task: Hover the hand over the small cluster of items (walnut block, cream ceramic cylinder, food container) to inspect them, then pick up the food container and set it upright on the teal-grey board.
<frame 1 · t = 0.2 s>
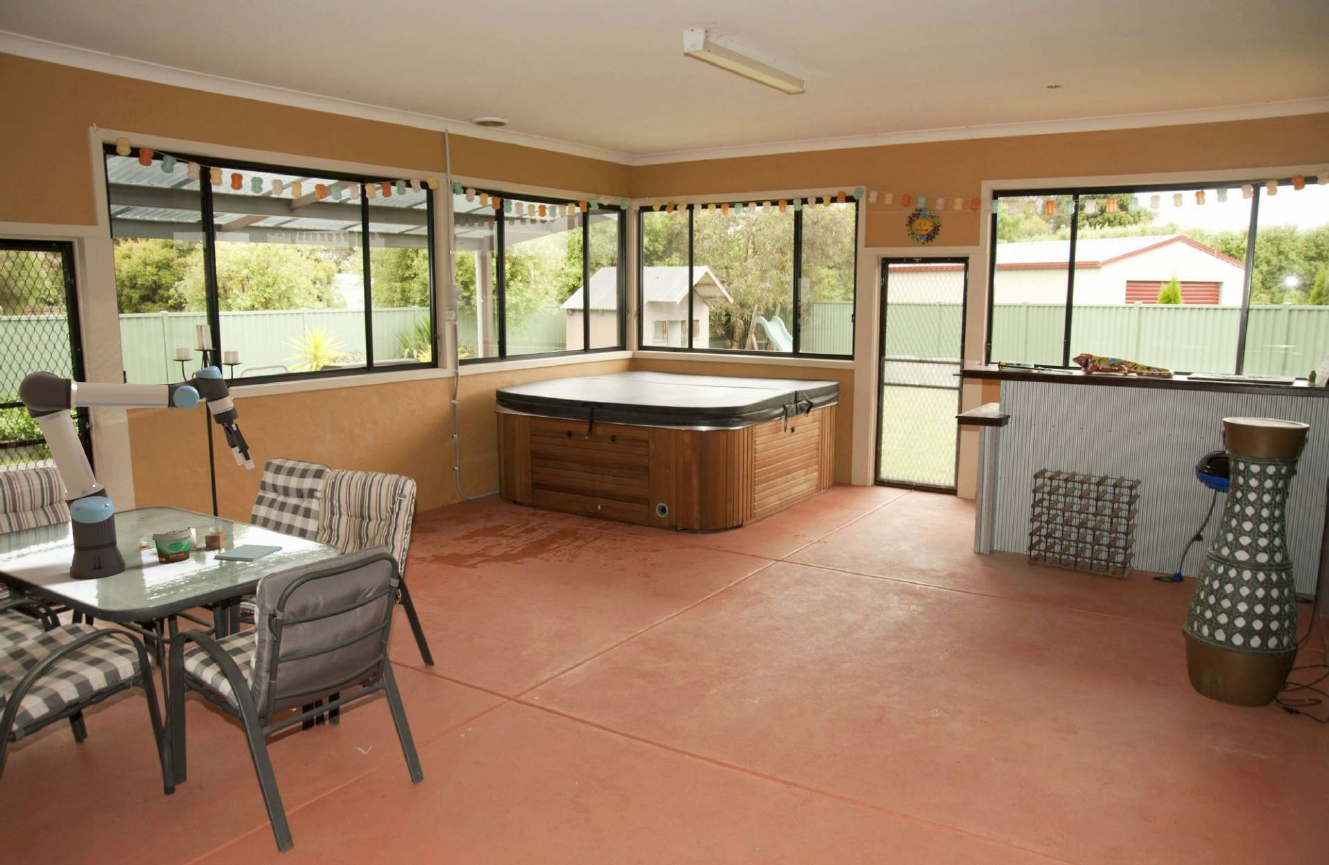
hand: (246, 466, 327), 27 cm above the table, tool tilted 15°, fingers open, 13 cm apart
cream cylinder: (188, 549, 322), on the table
teal board: (249, 553, 315), on the table
walnut block: (216, 547, 324), on the table
food container: (178, 561, 308), on the table
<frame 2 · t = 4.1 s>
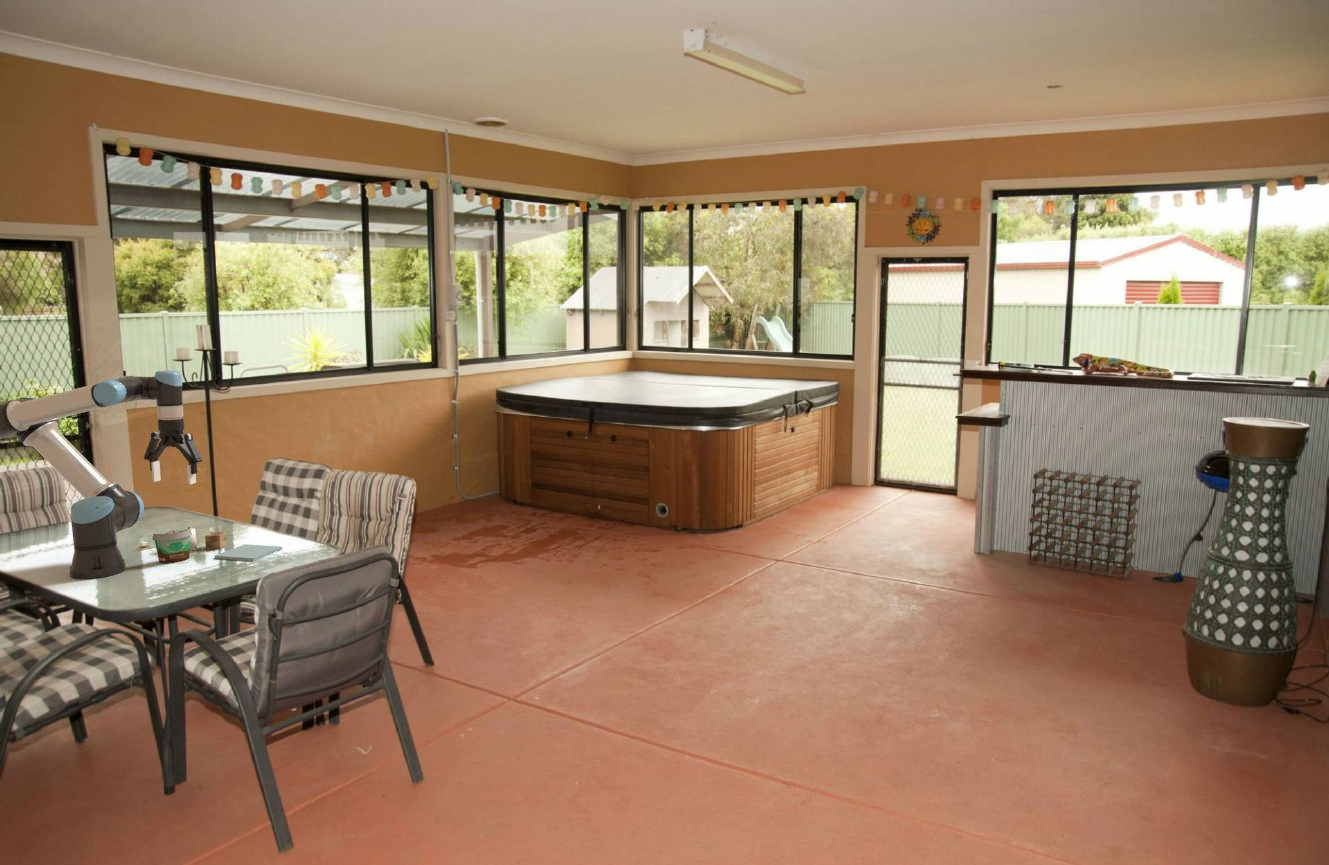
hand: (174, 482, 305), 26 cm above the table, tool pointing down, fingers open, 13 cm apart
nothing on the table moved.
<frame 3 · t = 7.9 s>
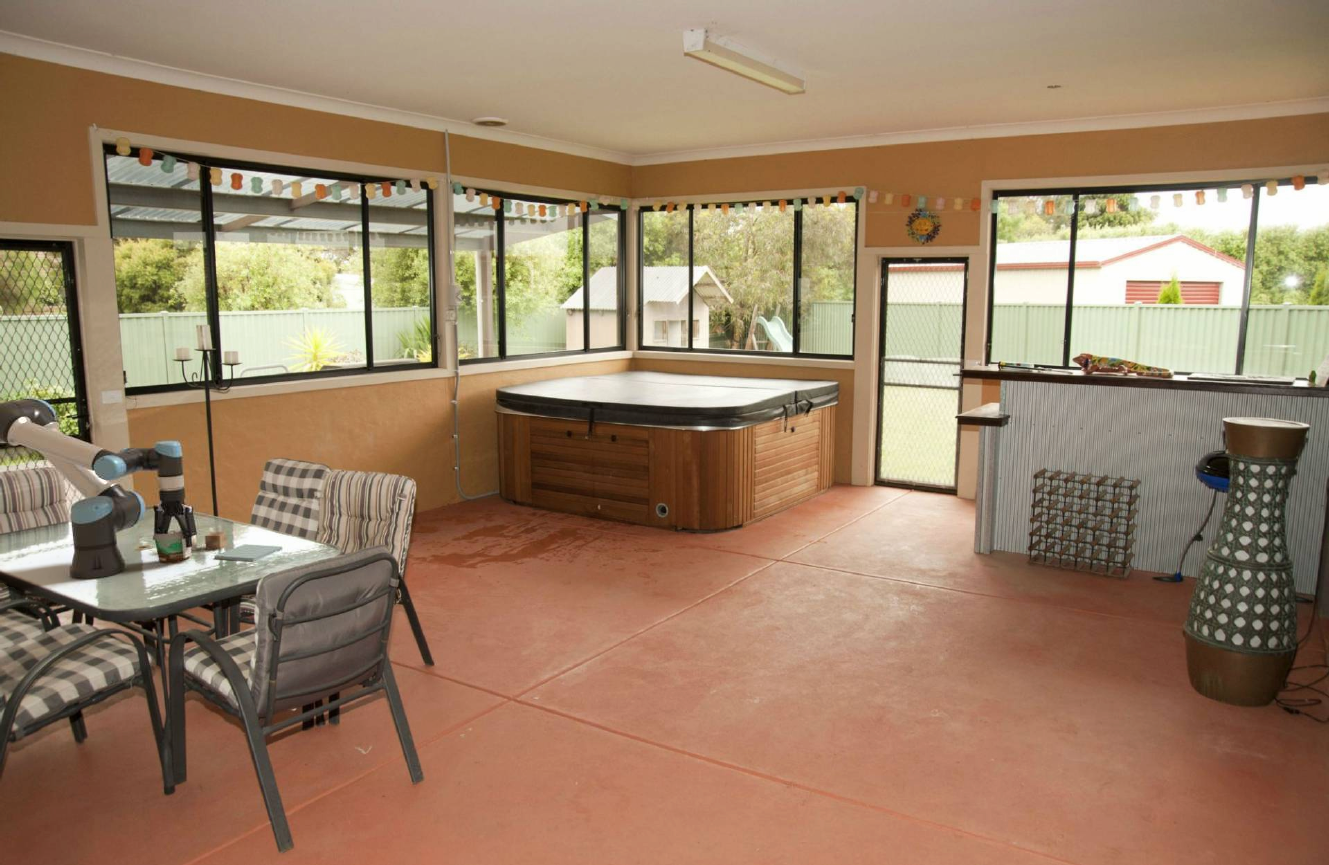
hand: (177, 555, 308), 2 cm above the table, tool pointing down, fingers closed on food container, 7 cm apart
food container: (178, 561, 308), on the table, touching gripper
everything else where it was.
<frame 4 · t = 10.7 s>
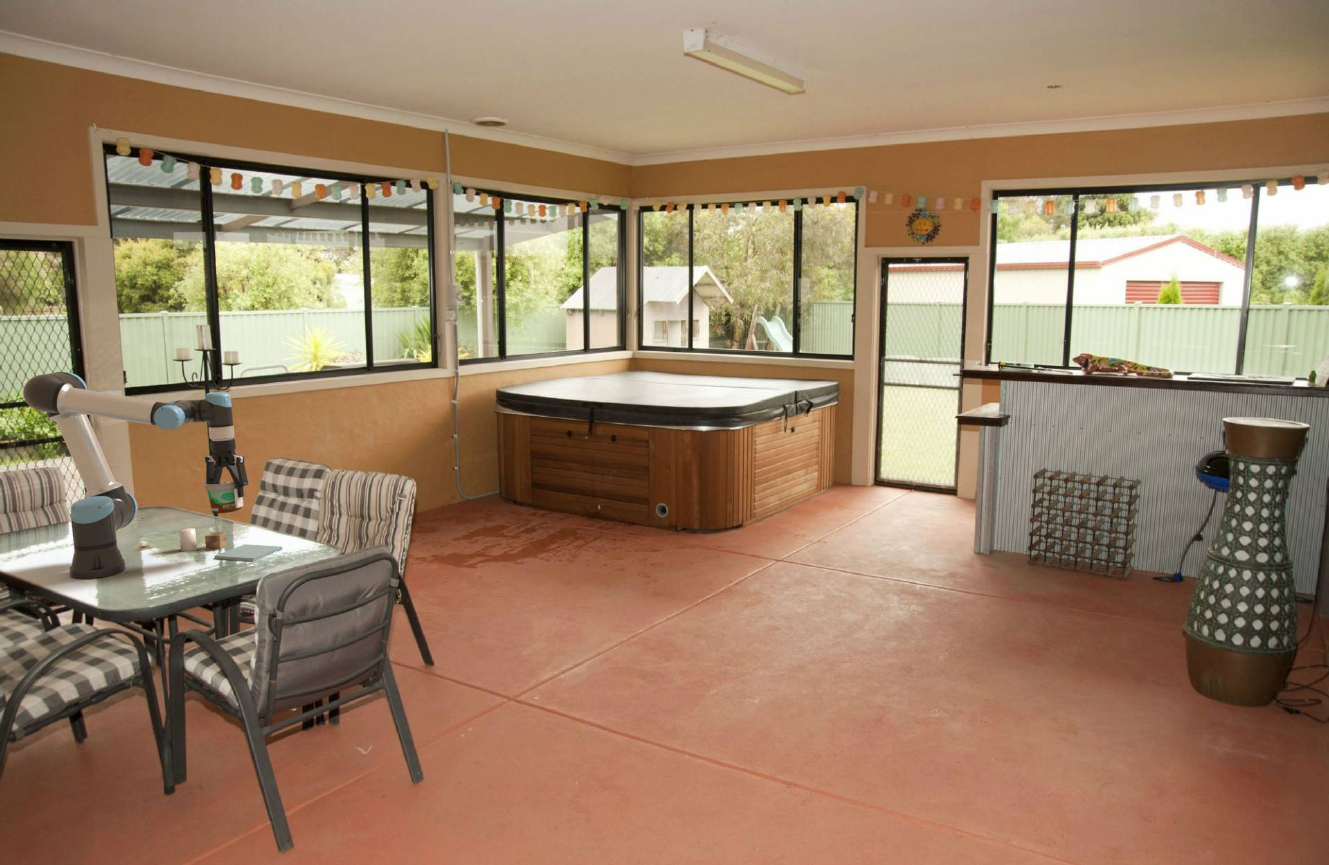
hand: (229, 506, 311), 17 cm above the table, tool pointing down, fingers closed on food container, 7 cm apart
food container: (230, 511, 311), point 15 cm above the table, touching gripper
everything else where it was.
when the fingers open (2 cm above the table, at t = 13.6 s): food container stays where it is, resting on teal board.
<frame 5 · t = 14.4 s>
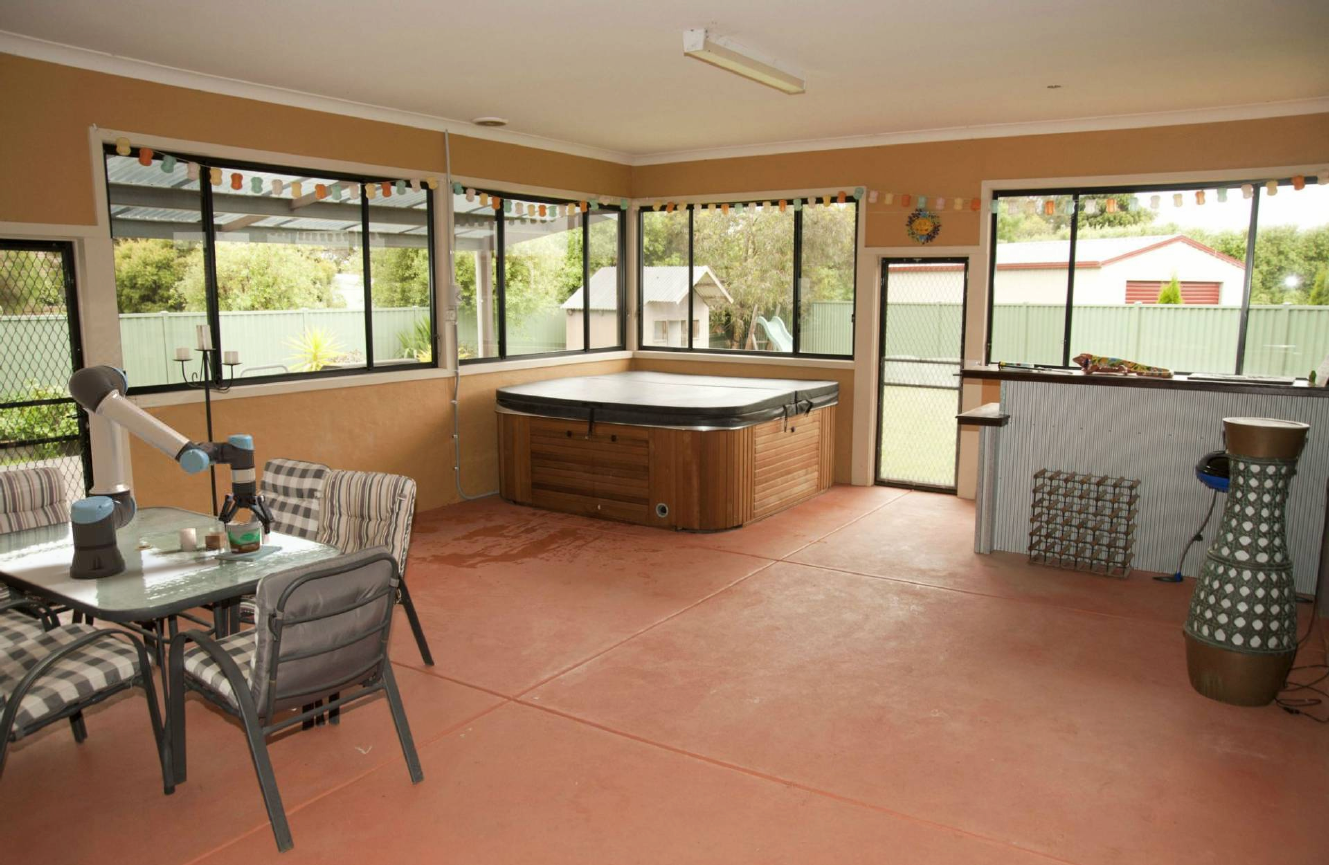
hand: (248, 542, 314), 4 cm above the table, tool pointing down, fingers open, 13 cm apart
food container: (249, 551, 315), point 1 cm above the table, touching teal board
everything else where it was.
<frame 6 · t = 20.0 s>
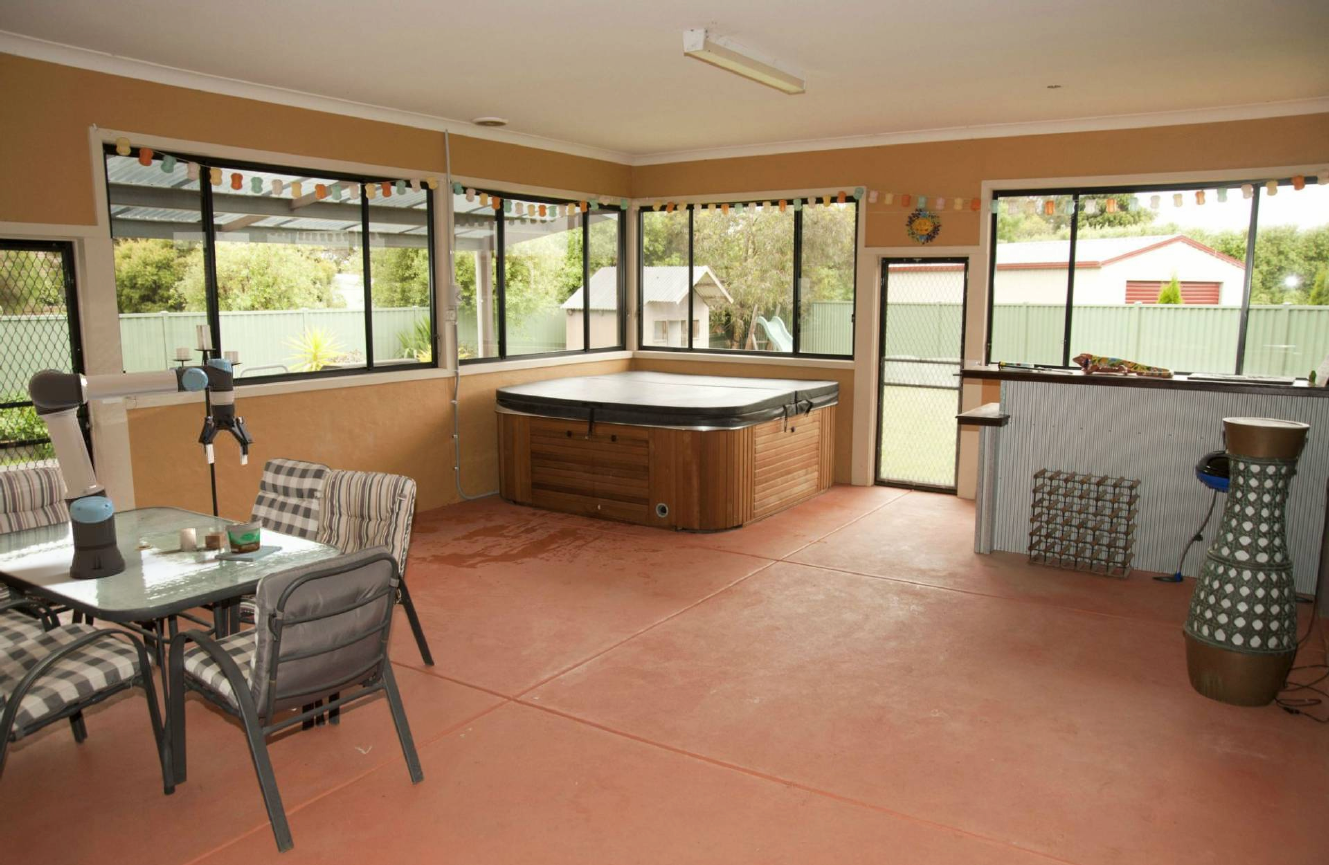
hand: (227, 463, 325), 29 cm above the table, tool pointing down, fingers open, 13 cm apart
nothing on the table moved.
at the end: food container inside the target area on the teal board (0.3 cm from its centre), point 0.8 cm above the teal board's base; food container tilted 0°; the gripper is holding nothing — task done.
